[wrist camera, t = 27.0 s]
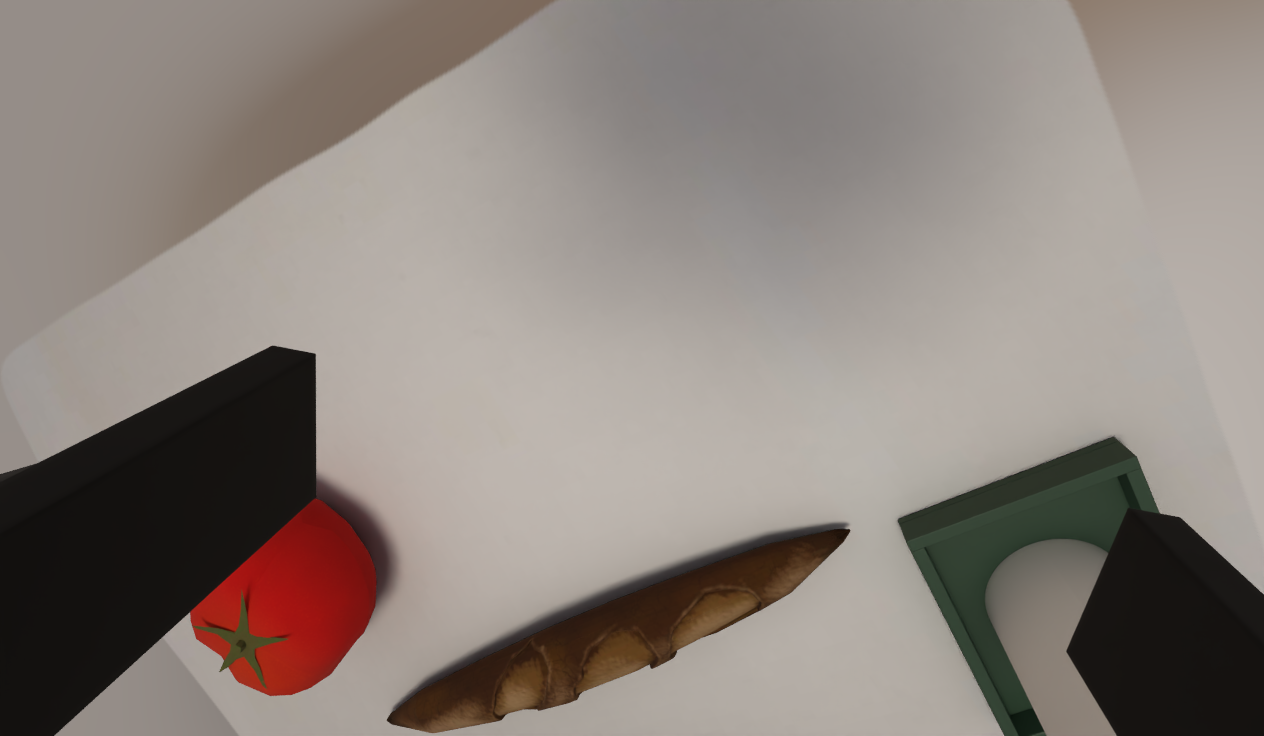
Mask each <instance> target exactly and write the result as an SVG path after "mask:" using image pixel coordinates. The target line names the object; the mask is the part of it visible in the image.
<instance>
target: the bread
mask: <svg viewBox="0 0 1264 736" xmlns="http://www.w3.org/2000/svg"><path fill="white" fill-rule="evenodd" d="M850 531H851V530H850V529H835V530H830V531H825V532H821V533H816V534H811V535H807V536H802V537H798V538H793V539H788V540H784V541H779V542H775V543H770V544H767V545H764V546H761V547H759V548H756V549H753V550H750V551H747V552H744V553H741V554H739V555H736V556H733V557H730V558H727V559H724V560H721V561H719V562H716V563H713V564H710V565H707V566H704V567H701V568H698V569H696V570H693V571H690V572H687V573H685V574H682V575H679V576H677V577H674V578H671V579H669V580H666V581H663V582H661V583H658V584H655V585H653V586H650V587H647V588H645V589H642V590H639V591H637V592H634V593H631V594H629V595H626V596H623V597H621V598H618V599H615V600H613V601H610V602H608V603H606V604H603V605H601V606H599V607H596V608H594V609H591V610H589V611H587V612H584V613H582V614H580V615H577V616H575V617H573V618H570V619H568V620H565V621H563V622H561V623H558V624H556V625H554V626H551V627H549V628H547V629H544V630H542V631H540V632H538V633H536V634H534V635H532V636H529V637H527V638H525V639H523V640H521V641H519V642H517V643H515V644H513V645H510V646H508V647H506V648H504V649H502V650H500V651H498V652H496V653H494V654H491V655H489V656H487V657H485V658H483V659H481V660H479V661H477V662H475V663H473V664H471V665H469V666H467V667H465V668H463V669H461V670H459V671H457V672H455V673H453V674H451V675H449V676H447V677H445V678H444V679H442V680H440V681H438V682H436V683H434V684H432V685H430V686H428V687H426V688H424V689H422V690H421V691H420V692H418V693H417V694H416V695H414V696H413V697H412V698H410V699H409V700H408V701H407V702H405V703H404V704H403V705H401V706H400V707H399V708H397V709H396V710H395V711H393V712H392V713H391V714H390V715H389V717H388V719H387V721H388V722H389V723H391V724H393V725H397V726H402V727H406V728H411V729H415V730H420V731H425V732H429V733H437V732H443V731H448V730H453V729H459V728H464V727H469V726H475V725H480V724H485V723H491V722H496V721H500V720H502V719H503V718H504V716H505V715H506V714H508V713H511V712H515V711H519V710H523V709H538V711H540V710H543V709H547V708H551V707H555V706H559V705H563V704H567V703H570V702H572V701H575V700H577V699H578V697H579V695H580V694H581V693H582V692H583V691H586V690H588V689H591V688H593V687H596V686H598V685H601V684H604V683H606V682H609V681H611V680H614V679H617V678H619V677H622V676H624V675H627V674H629V673H632V672H635V671H637V670H639V669H641V668H643V667H645V666H647V665H649V664H650V667H651V668H652V669H653V668H655V667H657V666H659V665H661V664H663V663H665V662H667V661H669V660H671V659H673V658H674V657H675V655H676V653H677V650H678V649H680V648H682V647H684V646H686V645H688V644H690V643H692V642H694V641H696V640H698V639H700V638H702V637H705V636H708V635H711V634H714V633H717V632H719V631H721V630H723V629H725V628H727V627H729V626H730V625H732V624H734V623H736V622H738V621H740V620H742V619H744V618H746V617H748V616H750V615H752V614H754V613H756V612H758V611H760V610H762V609H764V608H765V607H767V606H769V605H771V604H772V603H774V602H776V601H778V600H779V599H781V598H783V597H784V596H786V595H788V594H790V593H791V592H792V591H793V590H794V589H795V588H796V587H797V586H799V585H800V584H801V583H802V582H803V581H804V580H805V579H806V578H807V577H808V576H809V575H810V574H811V573H812V572H813V571H814V570H815V569H816V568H817V567H818V566H819V565H820V564H821V563H822V562H823V561H824V560H825V559H826V558H827V557H828V556H829V555H830V554H831V553H832V552H834V551H835V550H836V549H837V548H838V547H839V546H840V545H841V544H842V543H843V542H844V540H845V539H846V537H847V536H848V534H849V532H850Z"/></svg>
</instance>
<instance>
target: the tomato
mask: <svg viewBox="0 0 1264 736" xmlns="http://www.w3.org/2000/svg"><path fill="white" fill-rule="evenodd" d="M376 583H377V582H376V571H375V567H374V565H373V562H372V559H371V557H370V554H369V552H368V551H367V549H366V547H365V546H364V545H363V543H362V542H361V540H360V539H359V537H358V536H357V535H356V533H355V532H354V530H353V529H352V527H351V526H350V525H349V523H348V522H347V521H346V520H345V519H343V518H342V517H341V516H340V515H339V514H337V513H336V512H335V511H334V510H332V509H331V508H330V507H329V506H328V505H326V504H325V503H324V502H323V501H321V500H318V499H314V500H312V501H311V502H310V503H309V504H308V505H307V506H306V507H305V508H304V509H303V510H301V511H300V512H299V513H298V514H297V515H296V516H295V517H294V518H293V519H292V520H290V521H289V522H288V523H287V524H286V525H285V526H284V527H283V528H282V529H281V530H279V531H278V532H277V533H276V534H275V535H274V536H273V537H272V538H271V539H270V540H268V541H267V542H266V543H265V544H264V545H263V546H262V547H261V548H260V549H259V550H257V551H256V552H255V553H254V554H253V555H252V556H251V557H250V558H249V559H248V560H247V561H245V562H244V563H243V564H242V565H241V566H240V567H239V568H238V569H237V570H236V571H234V572H233V573H232V574H231V575H230V576H229V577H228V578H227V579H226V580H225V581H223V582H222V583H221V584H220V585H219V586H218V587H217V588H216V589H215V590H214V591H212V592H211V593H210V594H209V595H208V596H207V597H206V598H205V599H204V600H203V601H201V602H200V603H199V604H198V605H197V606H196V607H195V608H194V609H193V610H192V611H190V615H191V623H192V627H193V630H194V633H195V636H196V639H197V640H199V641H200V642H202V643H203V644H205V645H206V646H207V647H209V648H210V649H212V650H213V651H215V652H216V653H218V654H219V655H220V656H222V658H223V659H224V662H223V665H222V667H221V669H220V672H221V671H222V670H224V669H225V668H227V667H229V669H230V671H231V672H232V674H233V676H234V677H235V679H236V680H237V681H238V682H239V683H241V684H244V685H246V686H248V687H251V688H253V689H255V690H258V691H260V692H262V693H265V694H267V695H269V696H277V695H293V694H295V693H298V692H300V691H303V690H306V689H308V688H311V687H312V686H314V685H315V684H317V683H318V682H320V681H321V680H323V679H324V678H326V677H327V676H329V675H330V674H331V673H332V672H333V671H334V669H335V668H336V667H337V665H338V664H339V663H340V662H341V660H342V659H343V658H344V656H345V655H346V654H347V652H348V651H349V650H350V648H351V647H352V646H353V644H354V643H355V642H356V641H357V639H358V638H359V637H360V636H361V635H362V634H363V633H364V631H365V629H366V627H367V625H368V623H369V620H370V618H371V615H372V613H373V610H374V608H375V603H376Z"/></svg>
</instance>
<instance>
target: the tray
mask: <svg viewBox="0 0 1264 736" xmlns="http://www.w3.org/2000/svg"><path fill="white" fill-rule="evenodd" d="M1128 508H1133V509H1138V510H1143V511H1148V512H1154V513H1159V511H1158V508H1157V506H1156V503H1155V501H1154V498H1153V496H1152V493H1151V491H1150V488H1149V486H1148V484H1147V481H1146V479H1145V476H1144V474H1143V471H1142V469H1141V466H1140V464H1139V461H1138V459H1137V456H1135V455H1134V454H1133V453H1132V452H1131V451H1130V450H1128V449H1127V448H1126V447H1125V446H1124V445H1123V444H1122V443H1120V442H1119V441H1118V440H1117V439H1116V438H1115V437H1113V438H1110V439H1108V440H1105V441H1102V442H1100V443H1097V444H1094V445H1092V446H1089V447H1087V448H1084V449H1081V450H1079V451H1076V452H1073V453H1071V454H1068V455H1066V456H1063V457H1060V458H1058V459H1055V460H1053V461H1050V462H1047V463H1045V464H1042V465H1039V466H1037V467H1034V468H1032V469H1029V470H1026V471H1024V472H1021V473H1018V474H1016V475H1013V476H1011V477H1008V478H1005V479H1003V480H1000V481H997V482H995V483H992V484H990V485H987V486H984V487H982V488H979V489H977V490H974V491H971V492H969V493H966V494H963V495H961V496H958V497H956V498H953V499H950V500H948V501H945V502H942V503H940V504H937V505H935V506H932V507H929V508H927V509H924V510H921V511H919V512H916V513H914V514H911V515H908V516H906V517H903V518H901V519H898V522H899V525H900V527H901V530H902V532H903V535H904V538H905V540H906V543H907V545H908V547H909V549H910V551H911V552H912V554H913V556H914V558H915V560H916V562H917V564H918V566H919V568H920V570H921V572H922V574H923V576H924V578H925V580H926V582H927V584H928V586H929V588H930V590H931V592H932V594H933V596H934V598H935V600H936V602H937V604H938V606H939V608H940V610H941V612H942V614H943V616H944V618H945V620H946V621H947V623H948V625H949V627H950V629H951V631H952V633H953V635H954V637H955V639H956V641H957V643H958V645H959V647H960V649H961V651H962V653H963V655H964V657H965V659H966V661H967V663H968V665H969V667H970V669H971V671H972V673H973V675H974V677H975V679H976V681H977V683H978V685H979V687H980V689H981V690H982V692H983V694H984V696H985V698H986V700H987V702H988V704H989V706H990V708H991V710H992V712H993V714H994V716H995V718H996V720H997V722H998V724H999V726H1000V728H1001V730H1002V732H1003V734H1004V736H1046V734H1045V731H1044V729H1043V727H1042V725H1041V723H1040V721H1039V719H1038V717H1037V715H1036V713H1035V711H1034V709H1033V707H1032V705H1031V703H1030V701H1029V699H1028V697H1027V695H1026V693H1025V691H1024V688H1023V686H1022V684H1021V682H1020V680H1019V678H1018V676H1017V674H1016V672H1015V670H1014V668H1013V666H1012V664H1011V662H1010V660H1009V658H1008V656H1007V654H1006V652H1005V650H1004V647H1003V645H1002V643H1001V641H1000V639H999V637H998V635H997V633H996V631H995V629H994V627H993V625H992V623H991V621H990V619H989V616H988V614H987V610H986V606H985V592H986V587H987V584H988V581H989V579H990V577H991V575H992V574H993V572H994V570H995V569H996V568H997V567H998V565H999V564H1000V563H1001V562H1002V561H1003V560H1004V559H1006V558H1007V557H1008V556H1009V555H1011V554H1012V553H1014V552H1015V551H1017V550H1019V549H1021V548H1023V547H1025V546H1027V545H1030V544H1032V543H1036V542H1039V541H1044V540H1050V539H1074V540H1080V541H1084V542H1088V543H1090V544H1093V545H1095V546H1097V547H1100V548H1101V549H1103V550H1105V551H1106V552H1108V553H1109V551H1110V548H1111V546H1112V544H1113V541H1114V539H1115V537H1116V534H1117V532H1118V530H1119V528H1120V525H1121V523H1122V521H1123V518H1124V516H1125V514H1126V511H1127V509H1128ZM1159 514H1160V513H1159Z"/></svg>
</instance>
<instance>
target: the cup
mask: <svg viewBox="0 0 1264 736" xmlns="http://www.w3.org/2000/svg"><path fill="white" fill-rule="evenodd" d="M1107 555H1108V552H1106V551H1105V550H1103V549H1101V548H1100V547H1097V546H1095V545H1093V544H1090V543H1088V542H1084V541H1080V540H1074V539H1050V540H1044V541H1039V542H1036V543H1032V544H1030V545H1027V546H1025V547H1023V548H1021V549H1019V550H1017V551H1015V552H1014V553H1012V554H1011V555H1009V556H1008V557H1007V558H1006V559H1004V560H1003V561H1002V562H1001V563H1000V564H999V565H998V567H997V568H996V569H995V570H994V572H993V574H992V575H991V577H990V579H989V581H988V584H987V587H986V592H985V606H986V610H987V614H988V616H989V619H990V621H991V623H992V625H993V627H994V629H995V631H996V633H997V635H998V637H999V639H1000V641H1001V643H1002V645H1003V647H1004V650H1005V652H1006V654H1007V656H1008V658H1009V660H1010V662H1011V664H1012V666H1013V668H1014V670H1015V672H1016V674H1017V676H1018V678H1019V680H1020V682H1021V684H1022V686H1023V688H1024V691H1025V693H1026V695H1027V697H1028V699H1029V701H1030V703H1031V705H1032V707H1033V709H1034V711H1035V713H1036V715H1037V717H1038V719H1039V721H1040V723H1041V725H1042V727H1043V729H1044V731H1045V734H1046V736H1117V735H1116V734H1115V732H1114V730H1113V729H1112V727H1111V725H1110V724H1109V722H1108V720H1107V719H1106V717H1105V715H1104V714H1103V712H1102V710H1101V709H1100V707H1099V705H1098V704H1097V702H1096V700H1095V699H1094V697H1093V696H1092V694H1091V692H1090V691H1089V689H1088V687H1087V686H1086V684H1085V682H1084V681H1083V679H1082V677H1081V676H1080V674H1079V672H1078V671H1077V669H1076V667H1075V666H1074V664H1073V662H1072V661H1071V659H1070V657H1069V656H1068V654H1067V652H1066V650H1067V648H1068V645H1069V643H1070V641H1071V639H1072V636H1073V634H1074V632H1075V629H1076V627H1077V625H1078V622H1079V620H1080V618H1081V615H1082V613H1083V611H1084V608H1085V606H1086V604H1087V602H1088V599H1089V597H1090V595H1091V592H1092V590H1093V588H1094V585H1095V583H1096V581H1097V578H1098V576H1099V574H1100V571H1101V569H1102V567H1103V565H1104V562H1105V560H1106V558H1107Z"/></svg>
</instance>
